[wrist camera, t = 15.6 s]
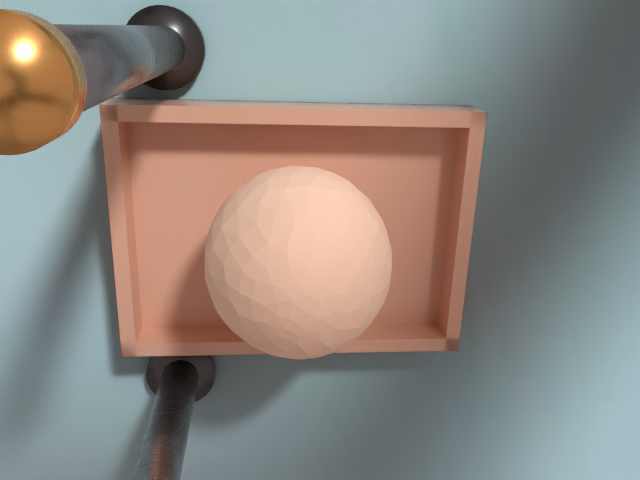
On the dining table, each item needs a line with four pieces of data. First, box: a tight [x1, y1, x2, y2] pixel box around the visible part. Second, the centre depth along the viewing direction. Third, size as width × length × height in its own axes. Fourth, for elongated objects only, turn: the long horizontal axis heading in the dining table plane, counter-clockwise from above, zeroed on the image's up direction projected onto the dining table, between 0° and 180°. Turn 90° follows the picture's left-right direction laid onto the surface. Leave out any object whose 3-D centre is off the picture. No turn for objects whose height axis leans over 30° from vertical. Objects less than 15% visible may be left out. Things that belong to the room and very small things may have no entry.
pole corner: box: [0, 5, 205, 155], centre depth 16 cm, size 3×3×15 cm
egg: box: [205, 166, 392, 360], centre depth 21 cm, size 7×7×8 cm
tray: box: [99, 98, 487, 357], centre depth 25 cm, size 14×10×2 cm
